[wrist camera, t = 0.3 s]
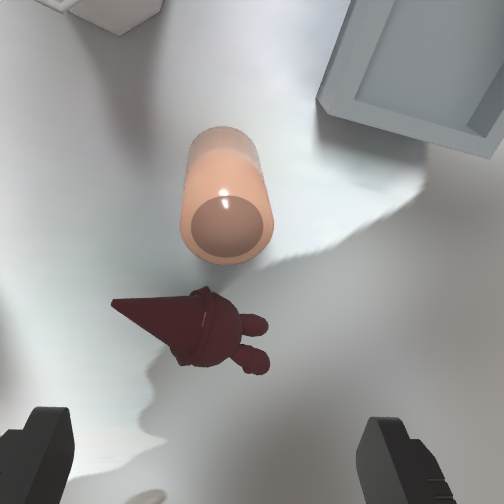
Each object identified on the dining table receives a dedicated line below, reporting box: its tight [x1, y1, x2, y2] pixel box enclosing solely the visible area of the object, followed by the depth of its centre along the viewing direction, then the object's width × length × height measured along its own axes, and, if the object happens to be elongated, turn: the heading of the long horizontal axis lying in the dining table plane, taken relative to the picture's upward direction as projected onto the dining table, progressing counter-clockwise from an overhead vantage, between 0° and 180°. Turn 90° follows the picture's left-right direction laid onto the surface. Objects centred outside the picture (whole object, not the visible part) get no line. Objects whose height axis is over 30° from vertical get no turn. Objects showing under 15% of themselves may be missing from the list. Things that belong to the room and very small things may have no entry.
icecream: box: [111, 286, 270, 375], centre depth 35 cm, size 7×7×15 cm
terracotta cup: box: [180, 126, 274, 265], centre depth 26 cm, size 5×5×9 cm
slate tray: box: [316, 0, 504, 159], centre depth 24 cm, size 14×12×4 cm
